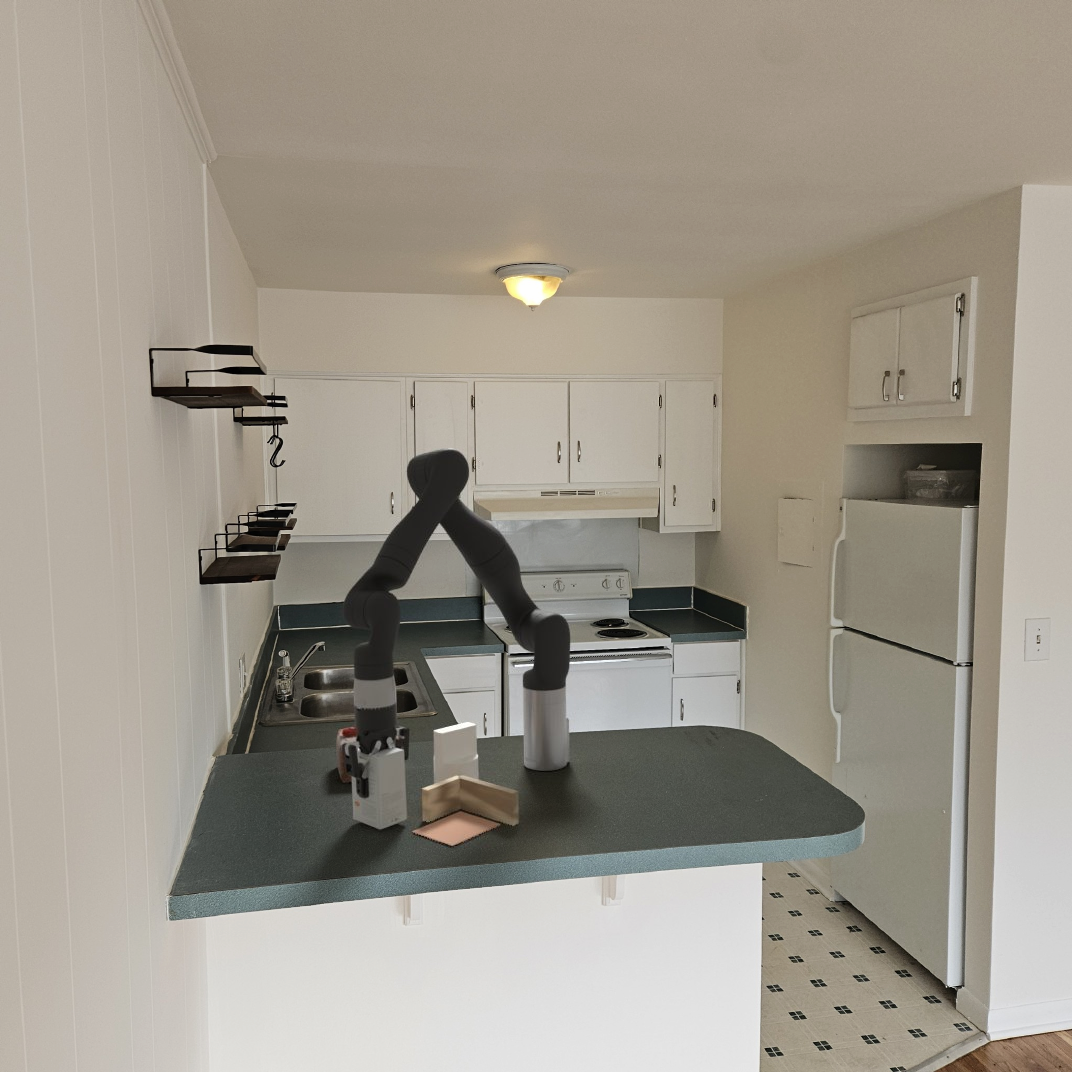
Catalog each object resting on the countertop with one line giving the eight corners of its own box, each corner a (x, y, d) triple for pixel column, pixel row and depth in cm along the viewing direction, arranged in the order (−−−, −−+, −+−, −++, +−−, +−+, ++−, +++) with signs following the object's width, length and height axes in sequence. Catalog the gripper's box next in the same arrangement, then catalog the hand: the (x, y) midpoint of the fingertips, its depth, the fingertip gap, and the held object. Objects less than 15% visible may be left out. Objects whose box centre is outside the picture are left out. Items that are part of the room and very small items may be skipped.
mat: (460, 812, 173) (460, 811, 173) (500, 825, 167) (500, 823, 167) (412, 832, 164) (412, 831, 164) (452, 847, 158) (452, 845, 158)
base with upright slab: (451, 797, 182) (450, 736, 181) (425, 785, 188) (423, 727, 187) (487, 786, 188) (486, 727, 187) (461, 775, 194) (459, 718, 193)
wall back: (463, 806, 177) (462, 775, 176) (518, 823, 168) (518, 791, 167) (457, 808, 176) (456, 777, 175) (513, 826, 167) (512, 793, 166)
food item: (334, 764, 203) (333, 720, 202) (371, 761, 205) (370, 717, 204) (338, 785, 190) (336, 737, 189) (377, 781, 192) (376, 734, 191)
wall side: (457, 806, 177) (456, 775, 176) (463, 808, 176) (462, 777, 175) (422, 820, 170) (421, 788, 169) (428, 822, 169) (427, 790, 168)
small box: (407, 819, 168) (405, 749, 167) (379, 830, 164) (376, 758, 162) (380, 809, 174) (377, 741, 173) (352, 819, 169) (349, 749, 168)
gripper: (391, 689, 175) (395, 776, 176) (329, 706, 164) (333, 798, 165) (419, 695, 170) (422, 784, 171) (357, 713, 159) (360, 808, 160)
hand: (378, 791), depth 168 cm, fingers closed on small box, 6 cm apart
